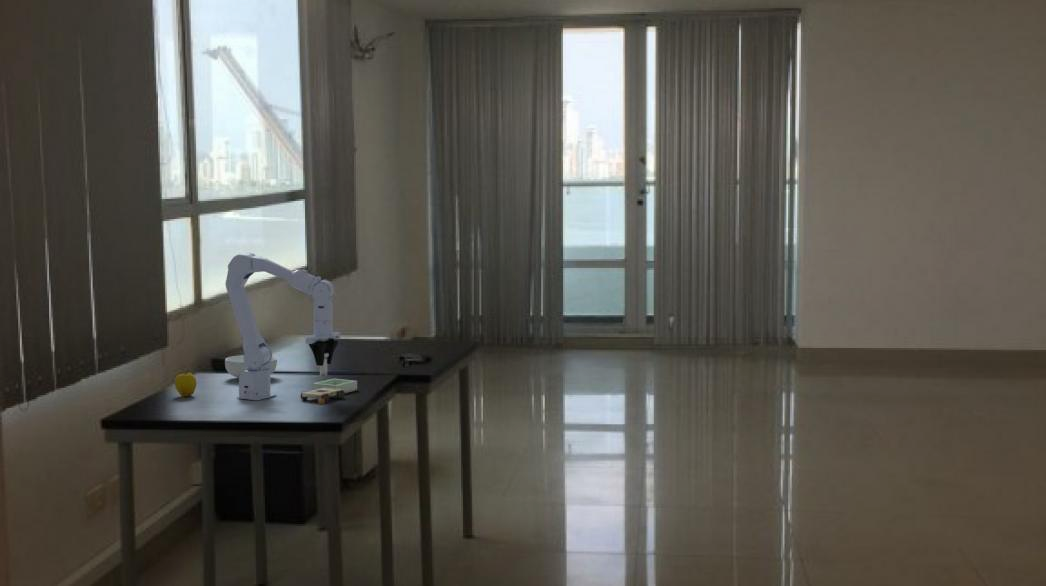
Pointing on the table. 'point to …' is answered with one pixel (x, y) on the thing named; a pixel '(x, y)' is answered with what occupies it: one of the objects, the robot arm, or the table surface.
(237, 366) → the cereal bowl
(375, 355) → the table surface
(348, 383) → the tray
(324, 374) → the stop pin
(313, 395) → the toy car
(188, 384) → the apple
